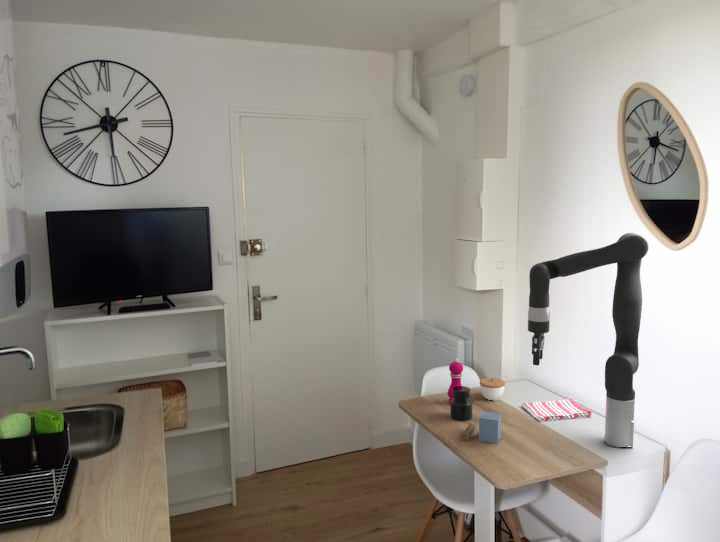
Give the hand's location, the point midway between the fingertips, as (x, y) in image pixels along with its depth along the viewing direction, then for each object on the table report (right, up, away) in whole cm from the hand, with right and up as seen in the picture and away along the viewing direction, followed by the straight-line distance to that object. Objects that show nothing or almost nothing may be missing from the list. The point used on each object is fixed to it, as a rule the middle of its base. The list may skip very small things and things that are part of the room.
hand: (537, 361), depth 206 cm
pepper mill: (-24, -24, +37) cm, 50 cm away
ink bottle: (-24, -26, +22) cm, 42 cm away
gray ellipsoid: (-17, -29, +1) cm, 33 cm away
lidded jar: (-7, -23, +42) cm, 49 cm away
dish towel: (+15, -26, +25) cm, 39 cm away
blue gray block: (-17, -29, +1) cm, 33 cm away
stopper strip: (-25, -28, +4) cm, 38 cm away
